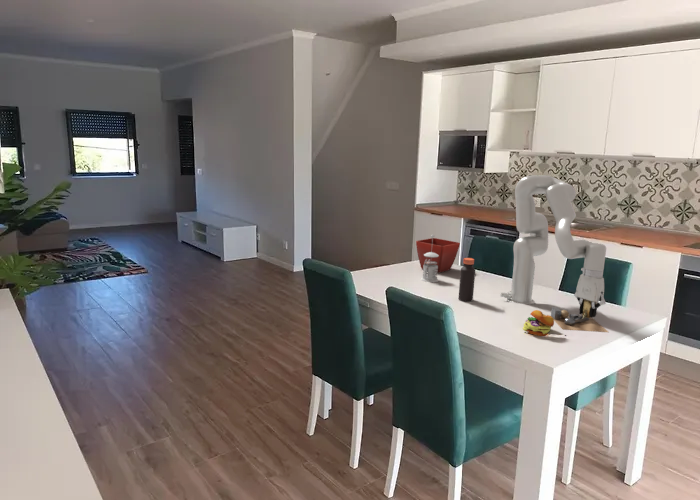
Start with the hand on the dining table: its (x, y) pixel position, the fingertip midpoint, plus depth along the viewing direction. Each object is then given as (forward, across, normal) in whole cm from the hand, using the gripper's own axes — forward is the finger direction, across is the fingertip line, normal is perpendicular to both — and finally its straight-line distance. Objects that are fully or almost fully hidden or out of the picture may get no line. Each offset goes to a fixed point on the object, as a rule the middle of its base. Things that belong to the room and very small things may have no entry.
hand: (587, 314), depth 215 cm
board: (+4, +1, -7) cm, 8 cm away
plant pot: (+4, -102, +3) cm, 102 cm away
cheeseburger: (+4, -2, -29) cm, 29 cm away
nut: (+3, -6, -7) cm, 9 cm away
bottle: (+4, -47, -24) cm, 53 cm away
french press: (+4, -84, -17) cm, 86 cm away
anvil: (+3, -8, -10) cm, 13 cm away
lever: (+2, -1, -5) cm, 6 cm away
